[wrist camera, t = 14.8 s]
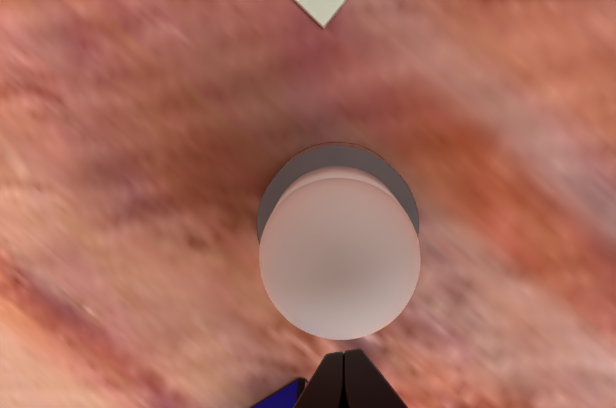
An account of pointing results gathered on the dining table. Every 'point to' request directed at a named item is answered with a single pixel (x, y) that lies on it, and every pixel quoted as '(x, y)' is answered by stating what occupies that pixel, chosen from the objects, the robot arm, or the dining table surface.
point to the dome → (339, 254)
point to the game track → (321, 9)
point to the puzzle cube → (284, 396)
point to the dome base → (335, 157)
